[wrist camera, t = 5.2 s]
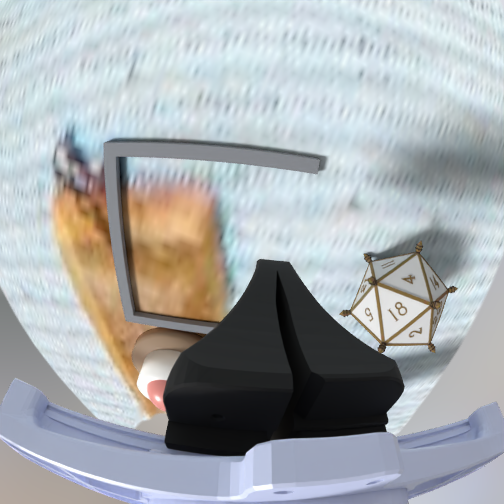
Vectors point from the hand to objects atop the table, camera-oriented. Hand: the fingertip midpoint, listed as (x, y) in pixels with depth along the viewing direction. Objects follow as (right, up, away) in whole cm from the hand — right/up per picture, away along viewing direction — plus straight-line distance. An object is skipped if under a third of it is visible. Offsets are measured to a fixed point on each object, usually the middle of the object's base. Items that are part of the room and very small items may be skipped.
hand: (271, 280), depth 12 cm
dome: (-9, -11, +16) cm, 22 cm away
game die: (+11, -1, +11) cm, 16 cm away
